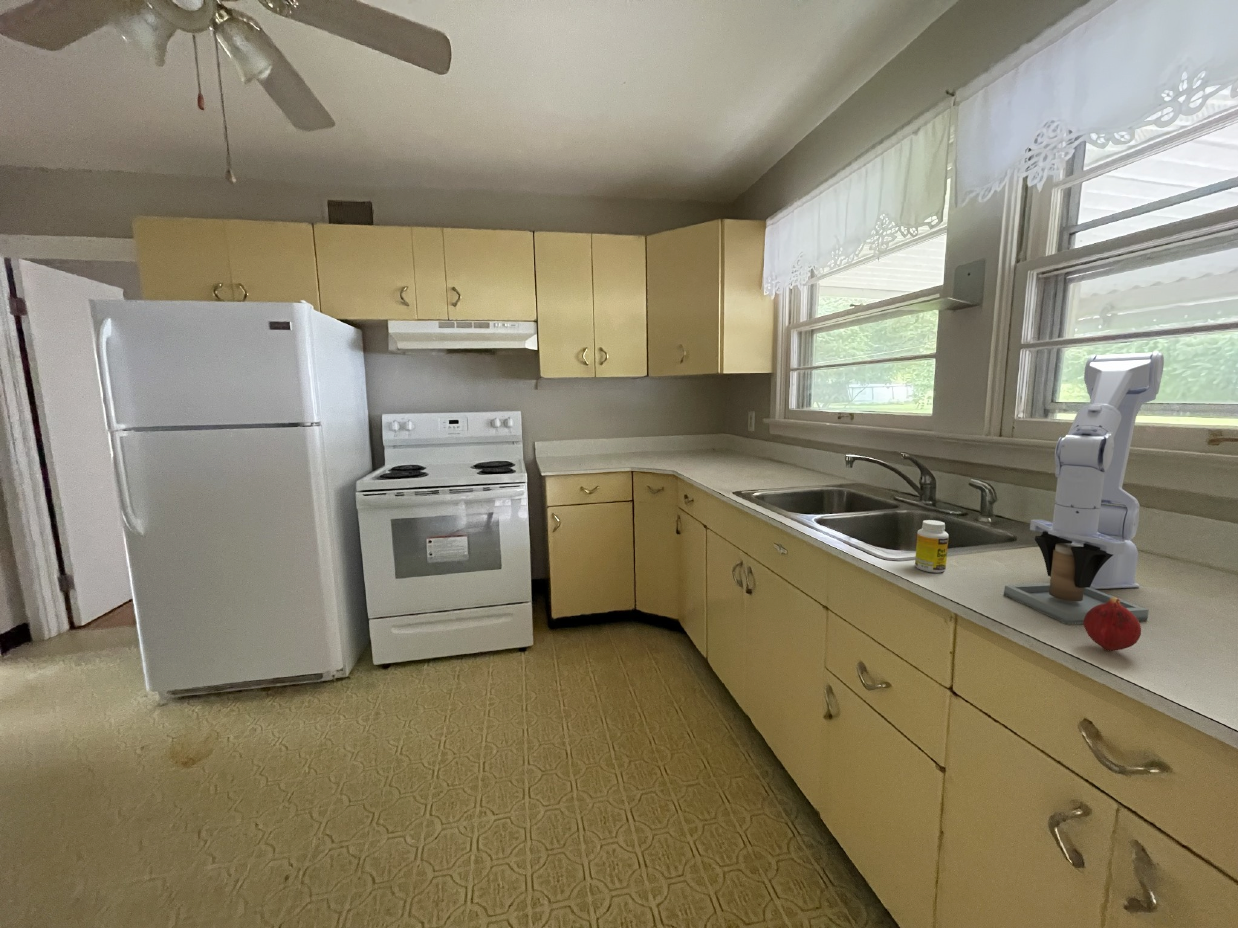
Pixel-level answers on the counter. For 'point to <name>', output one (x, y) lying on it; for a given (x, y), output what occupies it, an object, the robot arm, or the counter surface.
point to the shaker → (1064, 574)
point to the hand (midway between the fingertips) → (1068, 581)
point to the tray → (1065, 602)
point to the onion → (1112, 626)
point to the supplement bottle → (932, 547)
